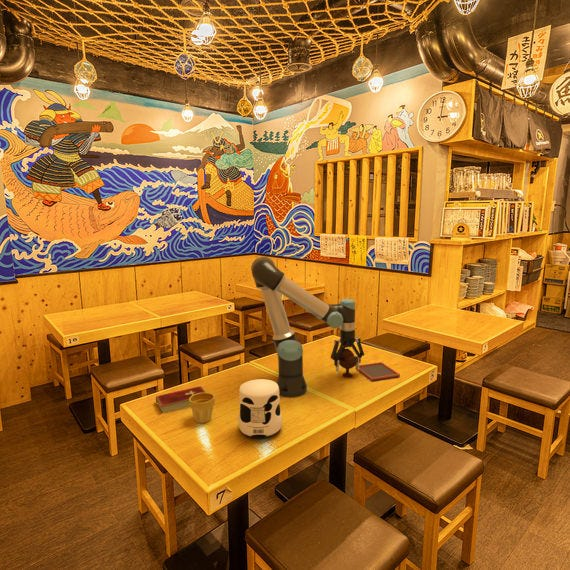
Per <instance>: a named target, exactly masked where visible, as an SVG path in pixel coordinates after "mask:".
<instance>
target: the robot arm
mask: <svg viewBox="0 0 570 570" xmlns="http://www.w3.org/2000/svg"><path fill="white" fill-rule="evenodd" d="M250 271H251V276H252V279H253V280H254V283H255V286H256V289H257V290H258V289H259V290H260V293H261V296H262V299H263V301H264V302H263V303H264V305H265V309H266V312H267V315H268V318H269V321H270V325H271V327H272V330H273V336H272V340H273V344H274V347H275V352H276V355H277V363H278V364H277V365H278V366H277V367H278V377H277V379H276V383H277V384H278V386H279V396H281V397H285V398H296V397H301V396H303V395H305V394H306V393H307V391H308V385H307V383H306V380H305V377H304V362H303V361H304V359H303V353H304V349H303V345H302V344H301V342H299V341H298V338H297V335H296V332H295V330H293V329H291V326H290V323H289V319H288V317H287V312H286V309H285V306H284V303H283V299H282V296H284V297H286V298H288V299H289V300H290V301H292V302H293V303H295V304H296V305H298V306H300V308H303V309H304V310H306V311H308V313H311V315H314V317H316V318H317V319H318V320H319V321H323V322H324V323H326V324H327V325H328V326H329V327H330V328H332V329H338V328H340V330H339V332H340V333H339V339H338V340H337V339H335V340H334V345H333V348H332V351H331V354H330V359H331V360H332V361H333V365H334V366H335V371H336V373H338V374H339V373H340V365H339V360H338V359H339V357H340V355H341V353H342V351H343V350H344V349H348V348H352V350H353V352H354V353H355V356H356V357H357V358H358V362H357V364H356V369H357V370H359V365H360V364H361V362H362V361H361V359H362V357H363V356H365V352H364V350H363V346H362V343H361V341H362V340H361V339H362V338H360V337H355V336H356V330H355V329H356V302H355V300H354V299H351V298H343V299H341V300H340V302H339V303H332V304H327V303H326V302H324V301H322V300H321V299H319V298H318V297H316V296H315V295H314V294H312V293H310V292H309V291H307V289H304V288H303V287H301V286H300V285H298V284H297V283H295V282H294V281H292V280H290V278H288V277H286V274H285V272H283V271H281V270H280V269H279V268H277V266H276V265H275V263H274V260H272V259H271V258H269V257H267V256H260V257H258V258H256V259H255V260H254V261H253V262H252V263H251V267H250ZM281 295H282V296H281ZM355 343H356V345H357V347H356V346H355ZM356 369H355V370H356ZM357 370H356V371H357Z"/></svg>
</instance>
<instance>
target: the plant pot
mask: <svg viewBox="0 0 570 570" xmlns="http://www.w3.org/2000/svg"><path fill="white" fill-rule="evenodd" d="M215 398H216V397H215V394H213V393H211V392H207V391H205V392H203V393H197V394H194V395H192V396H191V397H190V398H189V406H190V407H189V408H190V409H191V410H192V416H193V419H194V421H195V422H196V423H198V424H205V423H208V422H210V421H211V420H212V416H213V409H214V406H215V404H216V402H215V401H216V400H215Z"/></svg>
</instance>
